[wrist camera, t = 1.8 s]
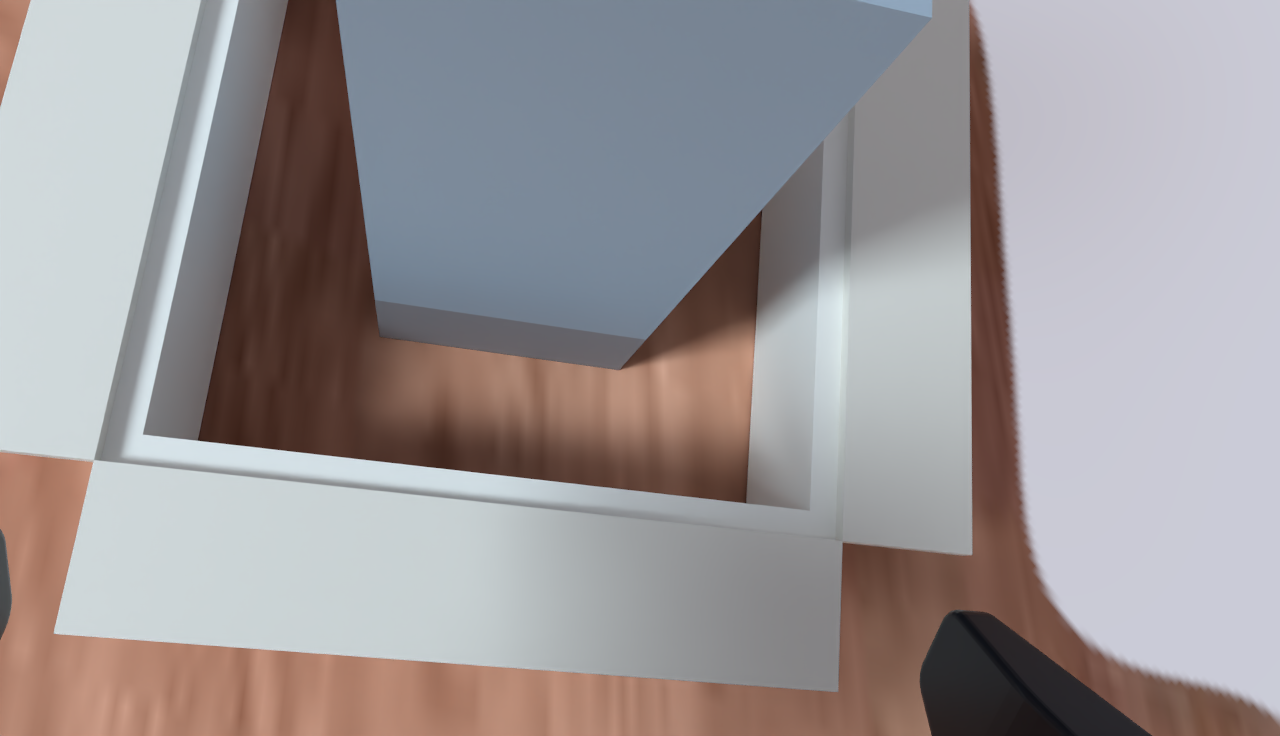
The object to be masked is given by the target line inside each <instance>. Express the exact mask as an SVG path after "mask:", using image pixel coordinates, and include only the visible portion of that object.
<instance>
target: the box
mask: <svg viewBox="0 0 1280 736" xmlns="http://www.w3.org/2000/svg"><path fill="white" fill-rule="evenodd" d="M336 5H337V13H338V20H339V28H340V36H341V44H342V51H343V59H344V67H345V74H346V82H347V90H348V97H349V105H350V113H351V120H352V128H353V136H354V143H355V151H356V159H357V166H358V174H359V182H360V189H361V197H362V205H363V212H364V220H365V228H366V235H367V243H368V251H369V258H370V266H371V274H372V281H373V289H374V297H375V304H376V312H377V320H378V327H379V335H380V337H385V338H392V339H400V340H407V341H414V342H421V343H428V344H436V345H443V346H450V347H457V348H464V349H471V350H479V351H486V352H493V353H500V354H507V355H514V356H522V357H529V358H536V359H543V360H550V361H557V362H565V363H572V364H579V365H586V366H593V367H601V368H608V369H615V370H620V369H621V367H622V366H623V365H624V364H625V363H626V362H627V361H628V360H629V358H630V357H631V356H632V355H633V354H634V353H635V352H636V351H637V349H638V348H639V347H640V346H641V345H642V344H643V343H644V342H645V340H646V339H647V338H648V337H649V336H650V335H651V334H652V333H653V331H654V330H655V329H656V328H657V327H658V326H659V325H660V324H661V322H662V321H663V320H664V319H665V318H666V317H667V316H668V315H669V313H670V312H671V311H672V310H673V309H674V308H675V307H676V306H677V304H678V303H679V302H680V301H681V300H682V299H683V298H684V297H685V295H686V294H687V293H688V292H689V291H690V290H691V289H692V288H693V286H694V285H695V284H696V283H697V282H698V281H699V280H700V279H701V277H702V276H703V275H704V274H705V273H706V272H707V271H708V270H709V268H710V267H711V266H712V265H713V264H714V263H715V262H716V261H717V259H718V258H719V257H720V256H721V255H722V254H723V253H724V252H725V250H726V249H727V248H728V247H729V246H730V245H731V244H732V243H733V241H734V240H735V239H736V238H737V237H738V236H739V235H740V234H741V232H742V231H743V230H744V229H745V228H746V227H747V226H748V225H749V223H750V222H751V221H752V220H753V219H754V218H755V217H756V216H757V214H758V213H759V212H760V211H761V210H762V209H763V208H764V207H765V205H766V204H767V203H768V202H769V201H770V200H771V199H772V198H773V196H774V195H775V194H776V193H777V192H778V191H779V190H780V188H781V187H782V186H783V185H784V184H785V183H786V182H787V181H788V179H789V178H790V177H791V176H792V175H793V174H794V173H795V172H796V170H797V169H798V168H799V167H800V166H801V165H802V164H803V163H804V161H805V160H806V159H807V158H808V157H809V156H810V155H811V154H812V152H813V151H814V150H815V149H816V148H817V147H818V146H819V145H820V143H821V142H822V141H823V140H824V139H825V138H826V137H827V136H828V134H829V133H830V132H831V131H832V130H833V129H834V128H835V127H836V125H837V124H838V123H839V122H840V121H841V120H842V119H843V118H844V116H845V115H846V114H847V113H848V112H849V111H850V110H851V109H852V107H853V106H854V105H855V104H856V103H857V102H858V101H859V100H860V98H861V97H862V96H863V95H864V94H865V93H866V92H867V91H868V89H869V88H870V87H871V86H872V85H873V84H874V83H875V82H876V80H877V79H878V78H879V77H880V76H881V75H882V74H883V73H884V71H885V70H886V69H887V68H888V67H889V66H890V65H891V64H892V62H893V61H894V60H895V59H896V58H897V57H898V56H899V55H900V53H901V52H902V51H903V50H904V49H905V48H906V47H907V46H908V44H909V43H910V42H911V41H912V40H913V39H914V38H915V37H916V35H917V34H918V33H919V32H920V31H921V30H922V29H923V28H924V26H925V25H926V24H927V23H928V22H929V21H930V20H931V19H932V0H336Z"/></svg>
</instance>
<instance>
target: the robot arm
mask: <svg viewBox="0 0 1280 736" xmlns="http://www.w3.org/2000/svg"><path fill="white" fill-rule="evenodd" d="M11 604H12V594H11V585H10V577H9V568H8V559H7V550H6V542H5V537H4V534H3V533H2V531H1V529H0V639H1V637H2V635H3V633H4V630H5V628H6V625H7V623H8V619H9V616H10V611H11ZM920 688H921V693H922V698H923V702H924V706H925V710H926V714H927V718H928V722H929V727H930V731H931V735H932V736H1152V735H1150V734H1149V733H1148V732H1146V731H1145V730H1144V729H1142V728H1141V727H1140V726H1138V725H1137V724H1136V723H1134V722H1133V721H1132V720H1130V719H1129V718H1128V717H1126V716H1125V715H1124V714H1123V713H1121V712H1120V711H1119V710H1117V709H1116V708H1115V707H1113V706H1112V705H1111V704H1109V703H1108V702H1107V701H1105V700H1104V699H1103V698H1101V697H1100V696H1099V695H1097V694H1096V693H1095V692H1093V691H1092V690H1091V689H1089V688H1088V687H1087V686H1085V685H1084V684H1083V683H1081V682H1080V681H1079V680H1078V679H1076V678H1075V677H1074V676H1072V675H1071V674H1070V673H1068V672H1067V671H1066V670H1064V669H1063V668H1062V667H1060V666H1059V665H1058V664H1056V663H1055V662H1054V661H1052V660H1051V659H1050V658H1048V657H1047V656H1046V655H1044V654H1043V653H1042V652H1040V651H1039V650H1038V649H1036V648H1035V647H1034V646H1033V645H1031V644H1030V643H1029V642H1027V641H1026V640H1025V639H1023V638H1022V637H1021V636H1019V635H1018V634H1017V633H1015V632H1014V631H1013V630H1011V629H1010V628H1009V627H1007V626H1006V625H1005V624H1003V623H1002V622H1001V621H999V620H998V619H997V618H995V617H994V616H993V615H991V614H989V613H985V612H978V611H967V610H954V611H951V612H949V613H948V614H947V615H946V616H945V617H944V619H943V621H942V623H941V625H940V627H939V629H938V632H937V634H936V636H935V638H934V640H933V642H932V645H931V647H930V649H929V651H928V653H927V655H926V658H925V660H924V662H923V664H922V668H921V672H920Z"/></svg>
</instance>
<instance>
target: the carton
mask: <svg viewBox="0 0 1280 736" xmlns="http://www.w3.org/2000/svg"><path fill="white" fill-rule="evenodd" d="M287 4H288V0H31V2H30V5H29V9H28V12H27V16H26V19H25V23H24V26H23V30H22V33H21V37H20V40H19V44H18V47H17V51H16V54H15V58H14V61H13V65H12V68H11V72H10V75H9V79H8V82H7V86H6V89H5V93H4V96H3V100H2V103H1V107H0V452H4V453H14V454H23V455H32V456H41V457H51V458H60V459H69V460H79V461H88V462H93V466H92V471H91V475H90V479H89V484H88V488H87V492H86V496H85V501H84V505H83V509H82V514H81V518H80V522H79V527H78V531H77V535H76V539H75V544H74V548H73V552H72V557H71V561H70V565H69V570H68V574H67V578H66V582H65V587H64V591H63V595H62V600H61V604H60V608H59V612H58V617H57V621H56V625H55V630H54V634H64V635H77V636H91V637H104V638H118V639H131V640H144V641H158V642H171V643H185V644H198V645H212V646H225V647H239V648H252V649H265V650H279V651H292V652H306V653H319V654H333V655H346V656H359V657H373V658H386V659H400V660H413V661H427V662H440V663H453V664H467V665H480V666H494V667H507V668H521V669H534V670H548V671H561V672H574V673H588V674H601V675H615V676H628V677H642V678H655V679H668V680H682V681H695V682H709V683H722V684H736V685H749V686H762V687H776V688H789V689H803V690H816V691H830V692H838V681H839V647H840V612H841V577H842V543H849V544H858V545H868V546H877V547H886V548H895V549H905V550H914V551H923V552H932V553H942V554H951V555H960V556H967V555H972V403H971V226H970V49H969V0H932V19H931V20H930V21H929V22H928V23H927V24H926V25H925V26H924V28H923V29H922V30H921V31H920V32H919V33H918V34H917V35H916V37H915V38H914V39H913V40H912V41H911V42H910V43H909V44H908V46H907V47H906V48H905V49H904V50H903V51H902V52H901V53H900V55H899V56H898V57H897V58H896V59H895V60H894V61H893V62H892V64H891V65H890V66H889V67H888V68H887V69H886V70H885V71H884V73H883V74H882V75H881V76H880V77H879V78H878V79H877V80H876V82H875V83H874V84H873V85H872V86H871V87H870V88H869V89H868V91H867V92H866V93H865V94H864V95H863V96H862V97H861V98H860V100H859V101H858V102H857V103H856V104H855V105H854V106H853V107H852V109H851V110H850V111H849V112H848V113H847V114H846V115H845V116H844V118H843V119H842V120H841V121H840V122H839V123H838V124H837V125H836V127H835V128H834V129H833V130H832V131H831V132H830V133H829V134H828V136H827V137H826V138H825V139H824V140H823V141H822V142H821V143H820V145H819V146H818V147H817V148H816V149H815V150H814V151H813V152H812V154H811V155H810V156H809V157H808V158H807V159H806V160H805V161H804V163H803V164H802V165H801V166H800V167H799V168H798V169H797V170H796V172H795V173H794V174H793V175H792V176H791V177H790V178H789V179H788V181H787V182H786V183H785V184H784V185H783V186H782V187H781V188H780V190H779V191H778V192H777V193H776V194H775V195H774V196H773V198H772V199H771V200H770V201H769V202H768V203H767V204H766V205H765V207H764V208H763V209H762V224H761V242H760V260H759V279H758V297H757V315H756V333H755V351H754V370H753V388H752V406H751V424H750V442H749V460H748V479H747V497H746V503H738V502H729V501H721V500H712V499H703V498H694V497H686V496H677V495H668V494H659V493H651V492H642V491H633V490H624V489H616V488H607V487H598V486H589V485H580V484H572V483H563V482H554V481H545V480H537V479H528V478H519V477H510V476H502V475H493V474H484V473H475V472H466V471H458V470H449V469H440V468H431V467H423V466H414V465H405V464H396V463H388V462H379V461H370V460H361V459H353V458H344V457H335V456H326V455H317V454H309V453H300V452H291V451H282V450H274V449H265V448H256V447H247V446H239V445H230V444H221V443H212V442H203V441H198V437H199V432H200V428H201V423H202V418H203V413H204V408H205V403H206V398H207V394H208V389H209V384H210V379H211V374H212V369H213V364H214V360H215V355H216V350H217V345H218V340H219V335H220V330H221V325H222V321H223V316H224V311H225V306H226V301H227V296H228V291H229V287H230V282H231V277H232V272H233V267H234V262H235V257H236V253H237V248H238V243H239V238H240V233H241V228H242V223H243V218H244V214H245V209H246V204H247V199H248V194H249V189H250V184H251V180H252V175H253V170H254V165H255V160H256V155H257V150H258V146H259V141H260V136H261V131H262V126H263V121H264V116H265V111H266V107H267V102H268V97H269V92H270V87H271V82H272V77H273V73H274V68H275V63H276V58H277V53H278V48H279V43H280V39H281V34H282V29H283V24H284V19H285V14H286V9H287Z"/></svg>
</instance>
